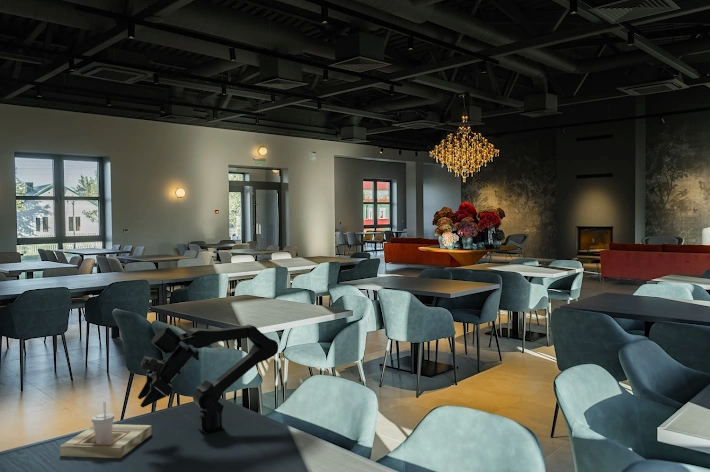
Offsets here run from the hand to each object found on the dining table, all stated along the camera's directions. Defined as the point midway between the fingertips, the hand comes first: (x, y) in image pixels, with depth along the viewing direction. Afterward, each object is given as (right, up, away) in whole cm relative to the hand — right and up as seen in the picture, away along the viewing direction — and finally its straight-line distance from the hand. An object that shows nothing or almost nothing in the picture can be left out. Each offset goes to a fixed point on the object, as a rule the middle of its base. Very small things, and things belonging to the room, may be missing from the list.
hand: (140, 402), depth 182 cm
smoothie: (-10, -13, -3) cm, 17 cm away
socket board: (-10, -13, -1) cm, 16 cm away
